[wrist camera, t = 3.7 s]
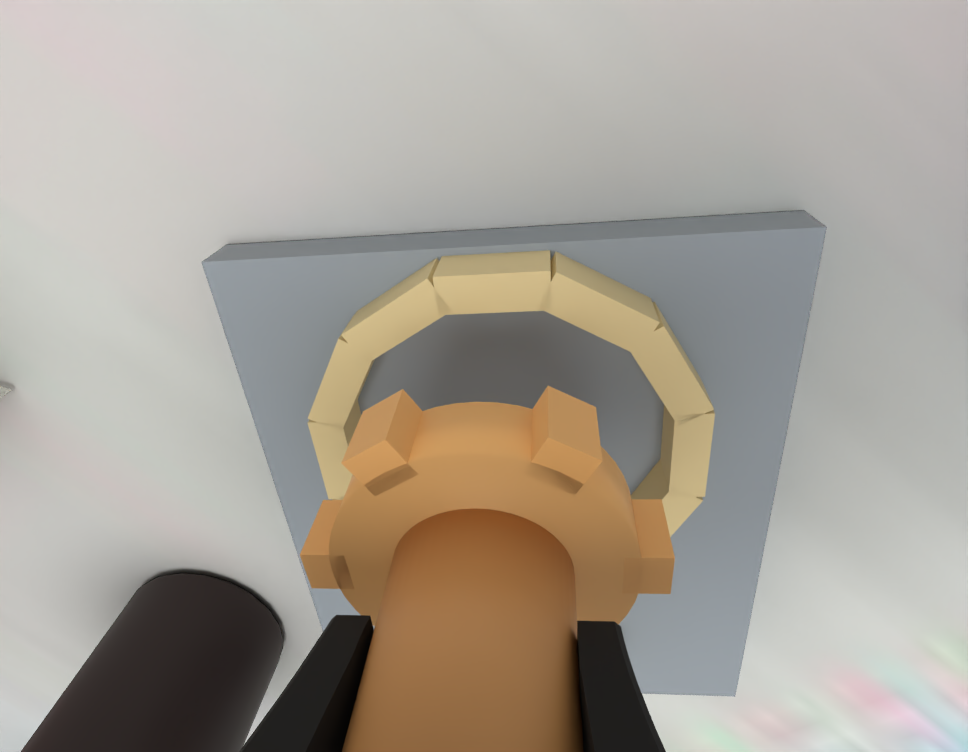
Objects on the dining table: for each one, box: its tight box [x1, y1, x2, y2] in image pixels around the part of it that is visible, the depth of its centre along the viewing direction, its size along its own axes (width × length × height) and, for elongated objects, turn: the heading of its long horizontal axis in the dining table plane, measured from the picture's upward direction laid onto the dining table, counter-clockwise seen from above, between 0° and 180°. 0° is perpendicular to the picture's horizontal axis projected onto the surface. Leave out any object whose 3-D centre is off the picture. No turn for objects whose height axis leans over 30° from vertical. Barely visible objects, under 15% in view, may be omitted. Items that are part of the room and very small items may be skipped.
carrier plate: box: [202, 210, 827, 696], centre depth 20 cm, size 16×19×4 cm
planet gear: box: [300, 386, 675, 752], centre depth 10 cm, size 7×7×6 cm
